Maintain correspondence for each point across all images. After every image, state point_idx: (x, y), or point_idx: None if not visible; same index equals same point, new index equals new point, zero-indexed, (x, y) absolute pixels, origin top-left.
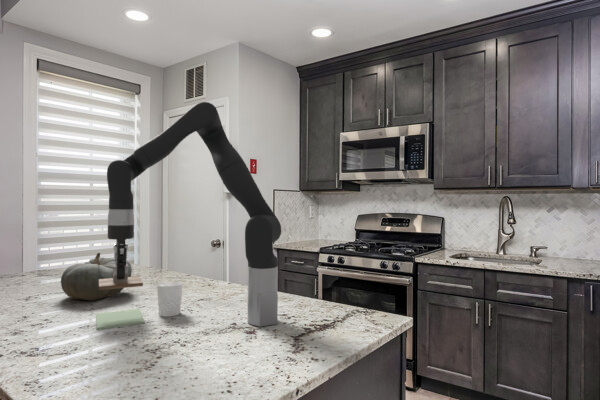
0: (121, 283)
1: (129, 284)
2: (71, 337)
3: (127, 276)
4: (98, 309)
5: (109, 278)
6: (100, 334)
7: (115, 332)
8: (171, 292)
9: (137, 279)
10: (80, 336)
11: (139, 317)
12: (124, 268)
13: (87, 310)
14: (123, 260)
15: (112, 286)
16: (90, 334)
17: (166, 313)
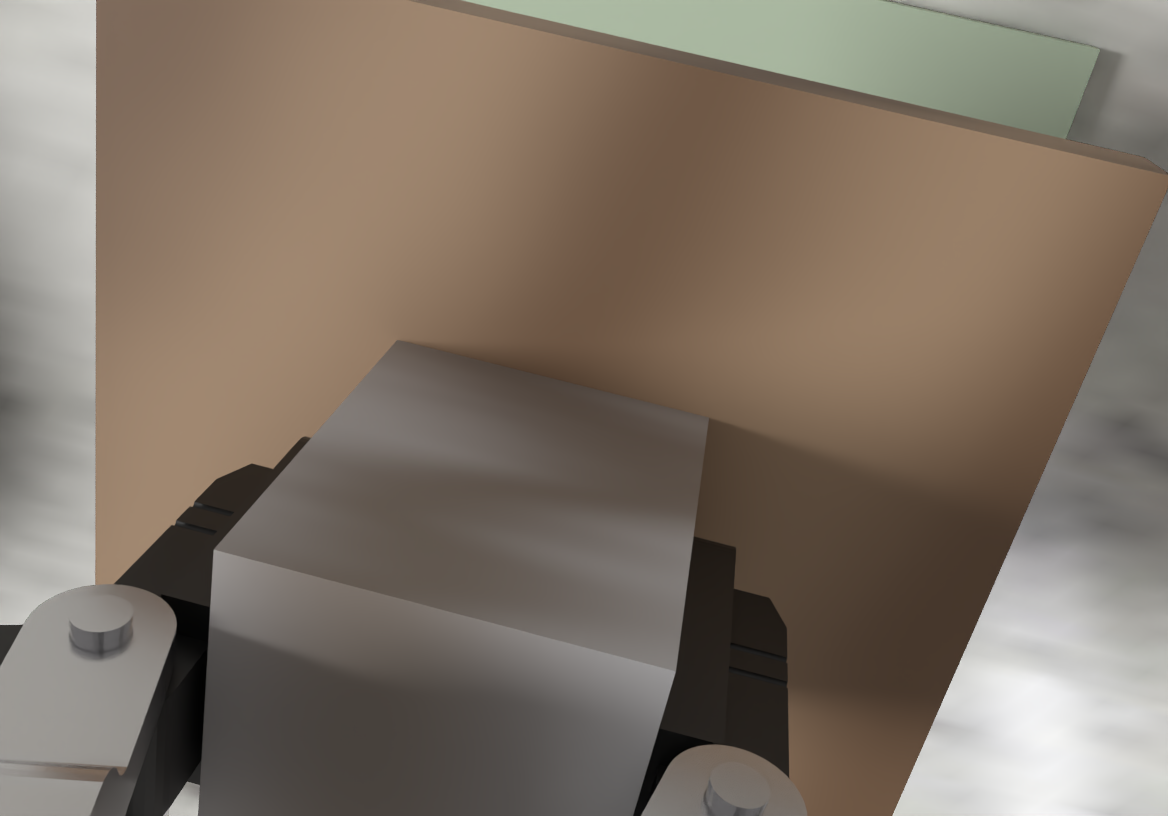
0: (836, 587)
1: (1034, 476)
2: (951, 786)
3: (696, 484)
4: (10, 323)
5: (104, 578)
6: (1085, 589)
7: (1154, 458)
8: None
9: (582, 132)
10: (986, 730)
11: (828, 44)
12: (723, 726)
13: (3, 430)
14: (149, 737)
15: (907, 752)
16: (998, 654)
17: None
